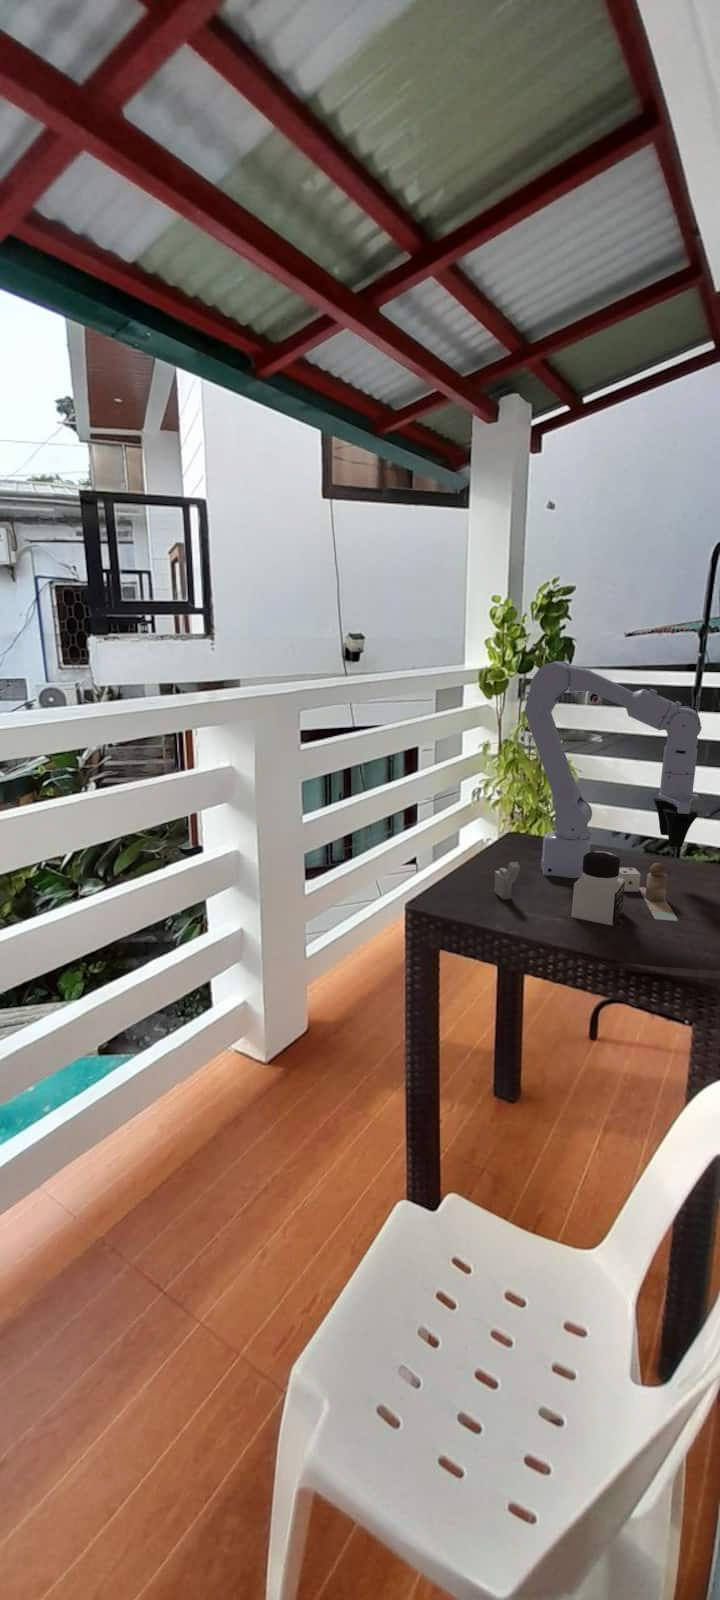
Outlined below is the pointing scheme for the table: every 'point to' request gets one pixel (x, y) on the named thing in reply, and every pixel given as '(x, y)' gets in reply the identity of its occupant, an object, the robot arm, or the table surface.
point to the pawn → (656, 883)
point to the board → (659, 908)
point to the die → (630, 878)
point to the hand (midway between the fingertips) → (670, 840)
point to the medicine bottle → (599, 889)
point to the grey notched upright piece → (506, 880)
